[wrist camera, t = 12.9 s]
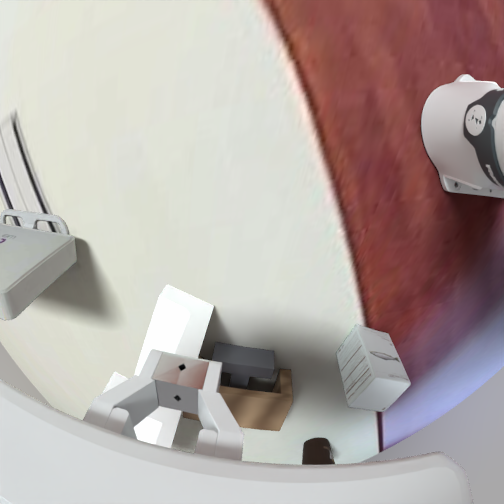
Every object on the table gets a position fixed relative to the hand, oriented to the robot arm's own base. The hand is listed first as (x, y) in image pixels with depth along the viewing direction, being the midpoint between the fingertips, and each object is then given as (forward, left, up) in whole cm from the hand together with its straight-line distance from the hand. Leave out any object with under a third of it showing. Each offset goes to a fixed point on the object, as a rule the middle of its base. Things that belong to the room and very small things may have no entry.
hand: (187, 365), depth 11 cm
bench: (-4, +34, -30) cm, 45 cm away
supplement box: (-24, +21, -30) cm, 44 cm away
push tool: (-4, +35, -30) cm, 46 cm away
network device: (+37, +11, -30) cm, 49 cm away
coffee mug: (-27, +58, -30) cm, 71 cm away
